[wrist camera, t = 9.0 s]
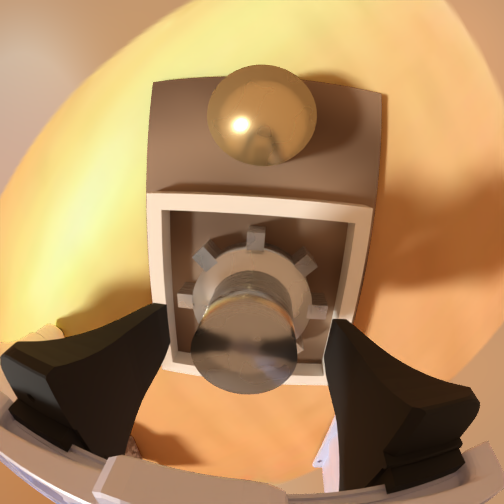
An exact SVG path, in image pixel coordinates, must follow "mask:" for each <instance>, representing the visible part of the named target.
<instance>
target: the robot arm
mask: <svg viewBox="0 0 504 504" xmlns="http://www.w3.org/2000/svg"><path fill="white" fill-rule="evenodd" d="M170 342H171V341H170V333H169V324H168V314H167V304H160V303H152V304H150V305H147V306H145V307H143V308H141V309H139V310H137V311H135V312H133V313H131V314H129V315H127V316H125V317H123V318H121V319H119V320H117V321H114V322H112V323H110V324H108V325H105V326H103V327H100V328H98V329H95V330H92V331H89V332H86V333H83V334H79V335H75V336H70V337H66V338H61V339H54V340H46V341H17V342H16V343H14V344H13V345H12V346H11V347H10V348H9V349H7V350H6V351H5V352H4V353H3V354H2V355H1V356H0V365H1V368H2V371H3V373H4V375H5V377H6V379H7V381H8V383H9V384H10V386H11V388H12V390H13V392H14V393H15V395H16V397H17V399H16V401H15V402H13V401H12V400H11V399H10V398H9V397H8V396H7V395H5V394H4V393H3V392H1V391H0V461H1V462H2V463H4V464H5V465H6V466H7V467H8V468H9V469H10V470H12V471H13V472H14V473H15V474H16V475H18V476H19V477H20V478H21V479H23V480H24V481H25V482H26V483H28V484H29V485H30V486H32V487H33V488H34V489H36V490H37V491H39V492H40V493H41V494H43V495H44V496H46V497H47V498H49V499H50V500H52V501H53V502H55V503H56V504H485V503H486V502H487V501H489V500H490V499H491V498H493V497H494V496H495V495H497V494H498V493H499V492H500V491H501V490H503V489H504V472H503V470H502V468H501V465H500V463H499V461H498V459H497V457H496V455H495V453H494V451H493V450H492V447H491V446H490V444H489V442H488V441H485V442H483V443H481V444H479V445H477V446H474V447H472V448H470V449H468V450H467V451H465V452H464V453H462V454H461V452H460V450H459V448H460V447H461V446H462V444H463V443H462V441H461V439H460V437H461V435H462V434H463V433H464V432H465V431H466V429H467V428H468V427H469V426H470V424H471V423H472V422H473V420H474V419H475V417H476V416H477V413H478V411H479V408H480V402H479V401H478V399H477V398H476V396H475V394H474V393H473V391H472V390H471V388H470V387H466V386H462V385H457V384H453V383H449V382H446V381H443V380H440V379H437V378H434V377H431V376H429V375H426V374H424V373H422V372H420V371H418V370H415V369H413V368H411V367H409V366H408V365H406V364H404V363H402V362H401V361H399V360H397V359H396V358H394V357H393V356H391V355H390V354H388V353H387V352H386V351H384V350H383V349H382V348H380V347H379V346H378V345H376V344H375V343H374V342H373V341H371V340H370V339H369V338H368V337H367V336H366V335H364V334H363V333H362V332H361V331H360V330H359V329H357V328H356V327H355V326H354V325H353V324H352V323H350V322H349V321H348V320H347V319H332V323H331V328H330V332H329V336H328V341H327V345H326V349H325V353H324V364H325V373H326V378H327V382H328V387H329V391H330V395H331V399H332V403H333V407H334V411H335V416H334V419H333V421H332V423H331V426H330V428H329V430H328V432H327V435H326V437H325V439H324V441H323V443H322V445H321V447H320V449H319V451H318V454H317V456H316V458H315V459H314V461H313V467H322V470H323V481H324V492H325V493H317V494H289V495H288V494H286V492H285V491H284V490H282V489H280V488H278V487H275V486H273V485H270V484H268V483H262V482H256V481H250V480H244V479H234V478H225V477H218V476H211V475H205V474H200V473H194V472H189V471H184V470H180V469H175V468H171V467H167V466H163V465H159V464H156V463H152V462H149V461H145V460H142V459H139V458H134V457H129V456H125V451H126V448H127V444H128V440H129V437H130V433H131V430H132V427H133V424H134V421H135V418H136V415H137V413H138V410H139V407H140V405H141V402H142V400H143V398H144V396H145V394H146V392H147V390H148V388H149V386H150V385H151V383H152V381H153V379H154V377H155V375H156V374H157V372H158V370H159V368H160V366H161V364H162V363H163V361H164V359H165V356H166V353H167V351H168V348H169V345H170Z"/></svg>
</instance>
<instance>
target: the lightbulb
mask: <svg viewBox="0 0 504 504" xmlns="http://www.w3.org/2000/svg"><path fill="white" fill-rule="evenodd" d="M61 338H65V337H64V335H63V332H62V331H61V330H60V329H59V328H58V327H56V326H55V325H53V324H46V325H44V326H43V327H42V328H40V329H39V330H37V332H35V333H34V332H32V333H29V334H28V335H27V336H25V337H23V338H21V339H19V340H17V341H46V340H54V339H61ZM17 341H13V342H0V356H1V355H2V354H3V353H4V352H5V351H6V350H7V349H9V348H10V347H11V346H12V345H13V344H14V343H16V342H17ZM0 391H1V392H3V393H4V394H5V395H7V396H8V397H9V398H10V399H11V400H12V401H13V402H15V401H16V399H17V397H16V395H15V393H14V392H13V390H12V388H11V386H10V384H9V383H8V381H7V379H6V377H5V375H4V373H3V371H2V368H1V365H0Z"/></svg>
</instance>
